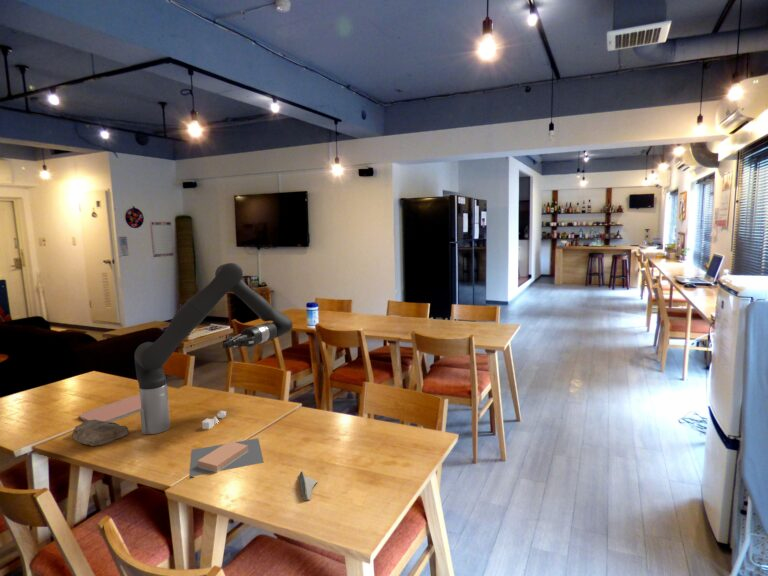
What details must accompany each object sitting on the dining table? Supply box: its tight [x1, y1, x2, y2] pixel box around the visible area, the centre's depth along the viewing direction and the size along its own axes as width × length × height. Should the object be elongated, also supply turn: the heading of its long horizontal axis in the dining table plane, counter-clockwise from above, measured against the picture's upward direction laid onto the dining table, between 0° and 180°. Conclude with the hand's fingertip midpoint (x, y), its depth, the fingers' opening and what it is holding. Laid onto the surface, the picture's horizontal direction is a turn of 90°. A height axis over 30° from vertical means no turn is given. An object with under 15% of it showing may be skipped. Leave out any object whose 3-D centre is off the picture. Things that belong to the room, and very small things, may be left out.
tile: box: [198, 440, 248, 473], centre depth 148 cm, size 2×8×14 cm
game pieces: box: [201, 410, 227, 430], centre depth 178 cm, size 12×3×3 cm, turn 165°
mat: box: [188, 437, 264, 479], centre depth 151 cm, size 22×18×1 cm
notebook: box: [77, 394, 141, 422], centre depth 191 cm, size 27×17×2 cm, turn 149°
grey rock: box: [72, 419, 130, 447], centre depth 168 cm, size 14×5×20 cm
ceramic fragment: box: [298, 470, 318, 502], centre depth 133 cm, size 14×5×4 cm, turn 15°
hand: (224, 346), depth 168 cm, fingers closed
